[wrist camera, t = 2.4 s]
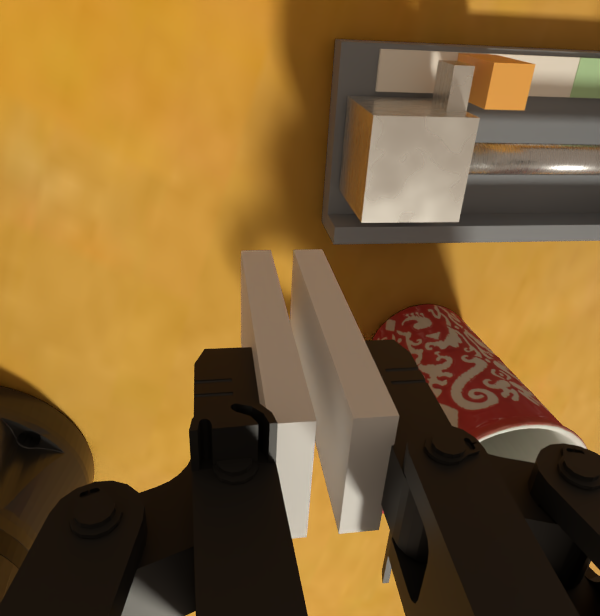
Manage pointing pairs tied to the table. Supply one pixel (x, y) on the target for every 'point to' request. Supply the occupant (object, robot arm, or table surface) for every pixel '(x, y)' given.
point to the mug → (475, 384)
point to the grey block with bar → (434, 153)
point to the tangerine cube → (498, 81)
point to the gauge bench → (492, 129)
